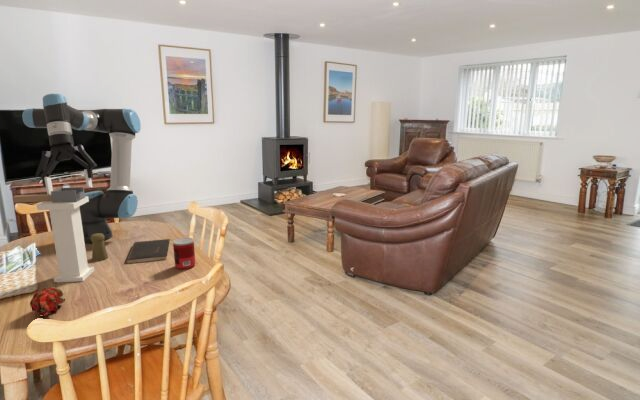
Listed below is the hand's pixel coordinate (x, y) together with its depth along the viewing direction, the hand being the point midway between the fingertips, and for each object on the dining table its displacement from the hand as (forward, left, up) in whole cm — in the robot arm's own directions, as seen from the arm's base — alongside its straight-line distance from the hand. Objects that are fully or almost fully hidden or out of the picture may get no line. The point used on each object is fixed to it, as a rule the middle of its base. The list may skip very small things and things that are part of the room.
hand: (70, 191), depth 144 cm
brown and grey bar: (-3, -7, -3) cm, 8 cm away
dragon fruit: (+27, -12, -33) cm, 44 cm away
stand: (0, -2, -33) cm, 33 cm away
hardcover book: (-10, +28, -34) cm, 45 cm away
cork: (-15, +9, -33) cm, 38 cm away
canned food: (+16, +35, -33) cm, 50 cm away
